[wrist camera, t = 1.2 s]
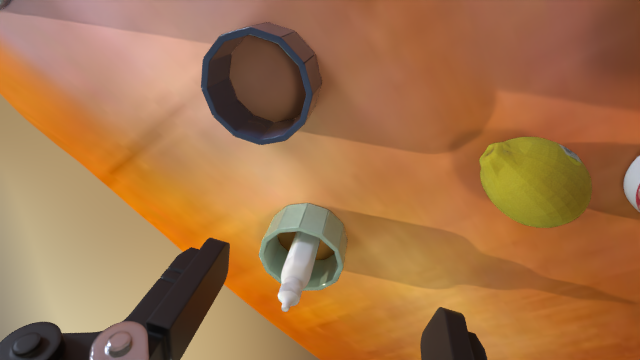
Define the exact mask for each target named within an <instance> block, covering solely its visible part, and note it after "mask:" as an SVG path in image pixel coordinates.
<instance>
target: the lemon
mask: <svg viewBox="0 0 640 360" xmlns="http://www.w3.org/2000/svg"><path fill="white" fill-rule="evenodd" d="M479 162H480V165H481V171H480V178H481V183H482V186H483V188H484V190H485V192H486V194H487V195H488V197H489V198H490V200H491V201H492V202H493V204H494V205H495V206H496V207H497V208H498V209H499V210H500V211H502V212H503V213H504V214H506V215H507V216H508V217H510V218H511V219H513V220H515V221H517V222H519V223H521V224H524V225H527V226H533V227H538V228H551V227H556V226H560V225H563V224H566V223H569V222H571V221H573V220H575V219H576V218H578V217H579V216H580V215H581V214H582V213H583V212H584V211H585V209H586V208H587V206H588V204H589V202H590V199H591V193H592V183H591V177H590V175H589V172H588V171H587V169H586V167H585V166H584V164H583V163H582V161H581V159H580V158H579V157H578V156H577V155H576V154H575V153H573V152H572V151H570V150H569V149H567V148H566V147H564V146H562V145H560V144H558V143H556V142H553V141H550V140H547V139H545V138H539V137H519V138H514V139H510V140H507V141H505V142H498V143H493V144H490V145H489V146H488V148H487V149H486V151H485V152H484V153H483V155H482V156H481V157H480V160H479Z"/></svg>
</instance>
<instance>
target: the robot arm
mask: <svg viewBox="0 0 640 360" xmlns="http://www.w3.org/2000/svg"><path fill="white" fill-rule="evenodd" d="M9 2H10V0H0V9H3V8H4V7H6V6H7V5H8V3H9ZM229 249H230V244H229V243H227V242H224V241H220V240H217V239H213V238H208V239H207V240H206V242H205V243H204V244H203V246H202V247H201V248H200V250H199V249H195V248H192V247H191V248H189V249H188V250H186V251H184V252H183V253H181V254H179V255H178V256H177V257H176V259H175V260H174V261H173V262H172V263H171V265H170V266H169V268H168V269H167V270H166V271H165V272H164V273H163V274H162V276H161V278H160V279H158V281H157V282H156V283H155V284H154V285H153V287H152V288H151V289H150V290H149V292H148V293H147V294H146V295H145V297H144V298H143V299H142V300H141V301H140V303H139V304H138V305H137V306H136V308H135V309H134V310H133V311H132V313H131V314H130V315H129V316H128V317H127V318H126V319H125V320H124V321H122V322H120V323H117V324H114V325H112V326H110V327H108V328H107V329H105V330H104V331H100V332H93V333H61V331H60V328H59V327H58V326H57V325H55V324H53V323H50V322H37V323H32V324H29V325H26V326H23V327H21V328H19V329H17V330H15V331H14V332H12V333H11V334H9V335H8V336H7V337H6V338H4V339H3V340H2V341H1V342H0V360H180V359H181V357H182V356H183V354H184V352H185V350H186V349H187V347H188V345H189V343H190V342H191V340H192V338H193V337H194V335H195V333H196V331H197V330H198V328H199V326H200V324H201V323H202V321H203V319H204V317H205V316H206V314H207V312H208V310H209V309H210V307H211V305H212V304H213V302H214V300H215V298H216V296H217V295H218V293H219V291H220V290H221V287H222V286H223V284H224V282H225V279H226V277H227V273H228V264H229ZM421 359H422V360H487V357H486V353H485V349H484V348H483V346H482V344H481V343H480V341H479V339H478V338H477V336H476V334H475V333H471V332H468V330H467V326H466V321H465V318H464V316H463V314H462V313H459V312H455V311H452V310H449V309H445V308H442V307H440V308H438V310H437V311H436V313H435V314H434V316H433V317H432V319H431V320H430V322H429V323H428V325H427V326H426V328H425V329H424V331H423V334H422V337H421Z"/></svg>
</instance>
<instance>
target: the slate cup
mask: <svg viewBox="0 0 640 360" xmlns="http://www.w3.org/2000/svg"><path fill="white" fill-rule="evenodd" d="M247 35H253V36H256V37H259V38H262V39H265V40H268V41H271V42H274V43H277V44H279V45H280V47H281V48H282V49H283V50H284V51H285V52H286V53H287V54H288V55H289V56H290V57H291V59H292V60H293V61H294V62H295V63H296V64H297V65H298V66H299V69H300V73H301V77H302V81H303V84H304V88H305V92H306V97H305V101H304V105H303V109H302V112H301V113H300V114H299V115H298V116H297V117H296V118H295V119H290V120H285V121H280V122H272V121H269V120H266V119H263V118H260V117H257V116H254V115H253V114H252V113H251V112H250V111H249V110H248V109H247V108H246V107H245V106H244V105H243V104H242V103H241V102H240V101H239V100H238V99H237V97H236V94H235V91H234V89H233V86H232V83H231V81H230V78H229V73H230V64H231V55H232V52H233V51H234V50H235V49H236V47H237V46H238V45H239V44H240V42H241V41H242V40H243V38H244V37H245V36H247ZM321 85H322V79H321V74H320V70H319V66H318V62H317V58H316V54H315V53H314V51H313V50H312V49H311V48H310V47H309V46H308V45H307V44H306V42H305V41H304V40H303V39H302V38H301V37H300V36H299V35H298V33H297V32H295V31H294V30H291V29H288V28H285V27H282V26H279V25H276V24H273V23H270V22H266V23H262V24H257V25H253V26H249V27H245V28H242V29H239V30H235V31H232V32H228V33H225V34H222V35H221V36H219V37H218V39H217V40H216V41H215V43H214V44H213V45H212V47H211V48H210V50H209V51H208V52H207V54H206V55H205V56H204V59H203V65H202V80H201V88H202V92H203V94H204V96H205V99H206V101H207V104H208V106H209V108H210V111H211V113H212V115H214V118H215V119H216V120H217V121H219V122H220V123H221V124H222V125H223V126H224V127H225V128H226V129H227V130H228V131H229V132H230V133H231V134H232V135H233V136H235V137H238V138H241V139H244V140H247V141H250V142H252V143H255V144H258V145H260V144H261V145H264V144H270V143H276V142H281V141H286V140H287V139H289V138H290V137H291V136H292V135H293V134H294V133H295V132H296V131H297V130H298V129H299V128H301V127H302V126H303V125H304V124H305V122H306V121H307V119H308V118H309V116H310V114H311V113H312V111H313V110H314V108H315V106H316V103H317V99H318V96H319V92H320V88H321Z"/></svg>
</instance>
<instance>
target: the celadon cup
mask: <svg viewBox="0 0 640 360" xmlns="http://www.w3.org/2000/svg"><path fill="white" fill-rule="evenodd" d="M295 231H301V232H304V233H306V234H309V235H312V236H315V237H318V238H320V239H321V240H322V241H323V242H325V243H326V244H327V245H328V246H329V247H330V248H331V249H332V250H333V251H334V252H335V254H334V255H332V256H330V257H329V258H327V259H325V260H315V262H314V266H313V270H312V273H311V277H310V280H309V282H308V284H307V286H306V287H305V288H304V289H303V290H302V291H304V290H322V289H324V288H326V287H328V286H330V285H331V284H333V283H335V282H336V281H337V280H338V278H339V276H340V274H341V272H342V269H343V267H344V260H345V254H346V247H347V240H348V239H347V236H346V232H345V228H344V225H343V223H342V222H341V221H340V220H339V219H338V218H337V217H336V216H335V215H334V214H333V213H332V212H331V211H330V210H328V209H325V208H322V207H319V206H316V205H313V204H310V203H303V204H294V205H288V206H286V207H285V208H284V209H282V210H281V211H280V212H279V213H277V214H276V215H275V216H274V218H273V220H272V222H271V224H270V226H269V228H268V230H267V232H266V234H265V236H264V238H263V240H262V244H261V248H260V252H259V257H260V259H261V261H262V264H263V266H264V268H265V270H266V272H267V273H269V274H270V275H271V276H272V277H273V278H275V279H276V280H277V281H278V282H280V283H281V273H282V269H283V266H284V264H285V261H286V258H287V256H288V253H289V251H287V250H286V249H285V248H284V247H283V246H282V245H281V244H280V242H279V240H278V237H277V234H279V233H284V232H295Z"/></svg>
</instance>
